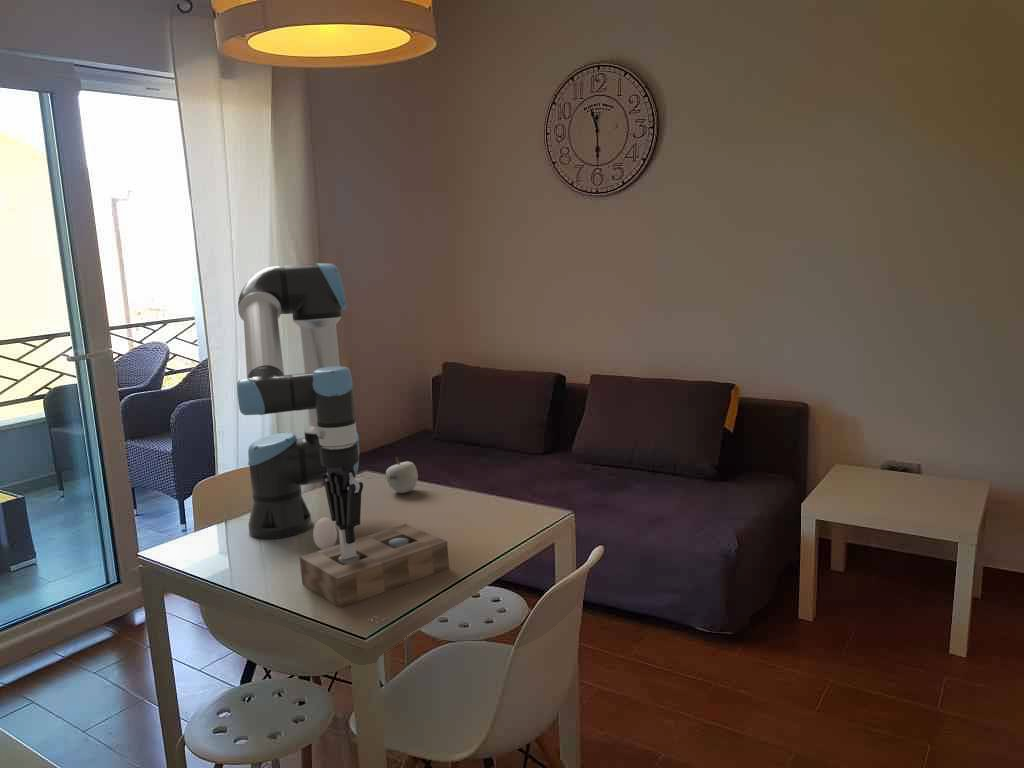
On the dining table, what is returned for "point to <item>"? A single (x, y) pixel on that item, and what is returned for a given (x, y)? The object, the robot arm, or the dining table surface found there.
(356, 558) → the dowel
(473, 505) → the dining table surface
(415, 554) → the walnut board
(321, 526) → the egg
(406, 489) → the decorative object
